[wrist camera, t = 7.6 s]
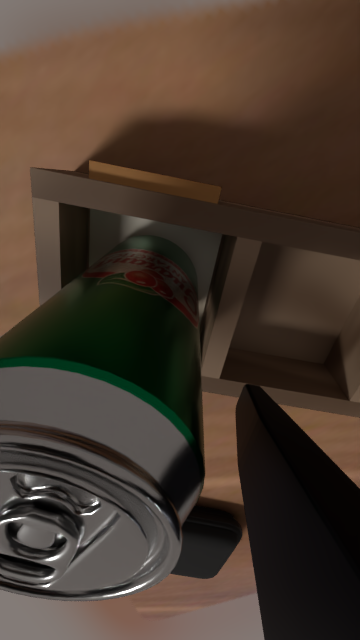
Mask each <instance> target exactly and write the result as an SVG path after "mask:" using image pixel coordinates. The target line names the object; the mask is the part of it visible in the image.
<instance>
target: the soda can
mask: <svg viewBox="0 0 360 640" xmlns="http://www.w3.org/2000/svg"><path fill="white" fill-rule="evenodd" d="M204 477H205V457H204V431H203V405H202V379H201V353H200V327H199V301H198V280H197V274H196V270H195V267H194V265H193V263H192V261H191V260H190V258H189V256H188V255H187V254H186V253H185V252H184V251H183V250H182V249H181V248H180V247H179V246H178V245H176V244H175V243H173V242H171V241H170V240H167V239H165V238H162V237H158V236H154V235H140V236H135V237H131V238H128V239H126V240H124V241H122V242H121V243H120V244H118V245H117V246H115V247H114V248H113V249H112V250H110V251H109V252H108V253H107V254H105V255H104V256H103V257H102V258H100V259H99V260H98V261H96V262H95V263H94V264H93V265H91V266H90V267H89V268H88V269H86V270H85V271H84V272H83V273H81V274H80V275H79V276H77V277H76V278H75V279H74V280H72V281H71V282H70V283H69V284H67V285H66V286H65V287H64V288H62V289H61V290H60V291H58V292H57V293H56V294H55V295H53V296H52V297H51V298H50V299H48V300H47V301H46V302H45V303H43V304H42V305H41V306H39V307H38V308H37V309H36V310H34V311H33V312H32V313H31V314H29V315H28V316H27V317H26V318H24V319H23V320H22V321H21V322H19V323H18V324H17V325H15V326H14V327H13V328H12V329H10V330H9V331H8V332H7V333H5V334H4V335H3V336H2V337H0V589H1V590H4V591H8V592H11V593H16V594H21V595H25V596H30V597H36V598H43V599H50V600H62V601H97V600H106V599H113V598H119V597H123V596H128V595H132V594H135V593H138V592H141V591H143V590H146V589H148V588H150V587H152V586H154V585H156V584H158V583H159V582H161V581H162V580H163V579H164V578H166V577H167V576H168V575H169V574H170V573H171V571H172V570H173V569H174V567H175V566H176V564H177V561H178V559H179V556H180V553H181V549H182V540H183V534H182V528H181V527H182V525H183V523H184V522H185V520H186V518H187V517H188V515H189V514H190V512H191V511H192V509H193V507H194V506H195V504H196V503H197V501H198V499H199V497H200V494H201V492H202V489H203V485H204Z"/></svg>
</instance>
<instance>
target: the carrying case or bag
mask: <svg viewBox="0 0 360 640" xmlns="http://www.w3.org/2000/svg"><path fill="white" fill-rule="evenodd" d="M181 528H182V534H183V540H182V549H181V553H180V556H179V559H178V561H177V564H176V566H175V567H174V569H173V570H172V571H171V573H170V574H175V575H182V576H188V577H194V578H202V579H208V578H212V577H214V576H215V575H217V573H218V572H219V571H220V569H221V568H222V566H223V565H224V564H225V562H226V561H227V559H228V558H229V556H230V555H231V554H232V552H233V551H234V549H235V548H236V546H237V544H238V543H239V542H240V540H241V538H242V528H241V526H240V524H239V523H238V522H237V521H236V520H235V519H234V517H233V516H232V515H231V514H229V513H227V512H224V511H220V510H215V509H210V508H205V507H200V506H194V507H193V509H192V511H191V512H190V514H189V515H188V517H187V518H186V520H185V522H184V523H183V525H182V527H181Z"/></svg>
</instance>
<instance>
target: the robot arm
mask: <svg viewBox="0 0 360 640" xmlns="http://www.w3.org/2000/svg"><path fill="white" fill-rule="evenodd" d="M236 434H237V457H238V469H239V476H240V483H241V489H242V496H243V502H244V509H245V515H246V522H247V528H248V535H249V541H250V548H251V554H252V561H253V567H254V574H255V580H256V587H257V593H258V600H259V606H260V613H261V619H262V626H263V632H264V639H265V640H360V489H359V488H358V487H357V485H356V484H355V483H354V482H353V481H352V480H351V479H350V478H349V477H348V476H347V475H346V474H345V473H344V472H343V471H342V470H341V469H340V468H339V467H338V466H337V465H336V464H335V463H334V462H333V461H332V460H331V459H330V458H329V457H328V456H327V455H326V454H325V453H324V452H323V450H322V449H321V448H320V447H319V446H318V445H317V444H316V443H315V442H314V441H313V440H312V439H311V438H310V437H309V436H308V435H307V434H306V433H305V432H304V431H303V430H302V429H301V428H300V427H299V426H298V425H297V424H296V423H295V422H294V421H293V420H292V419H291V418H290V417H289V416H288V414H287V413H286V412H285V411H284V410H283V409H282V408H281V407H280V406H279V405H278V404H277V403H276V402H275V401H274V400H273V399H272V398H271V397H270V396H269V395H268V394H267V393H266V392H265V391H264V390H263V389H262V388H261V387H260V386H258V385H252V384H245V385H244V387H243V389H242V391H241V394H240V397H239V400H238V402H237V405H236Z"/></svg>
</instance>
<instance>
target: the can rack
mask: <svg viewBox="0 0 360 640" xmlns="http://www.w3.org/2000/svg"><path fill="white" fill-rule="evenodd" d="M30 175H31V189H32V203H33V217H34V231H35V245H36V260H37V274H38V288H39V302H40V306H41V305H42V304H43V303H45V302H46V301H47V300H48V299H50V298H51V297H52V296H53V295H55V294H56V293H57V292H58V291H60V290H61V289H62V288H64V287H65V286H66V285H67V284H69V283H70V282H71V281H72V280H74V279H75V278H76V277H77V276H79V275H80V274H81V273H83V272H84V271H85V270H86V269H88V268H89V267H90V266H91V265H93V264H94V263H95V262H96V261H98V260H99V259H100V258H102V257H103V256H104V255H105V254H107V253H108V252H109V251H110V250H112V249H113V248H114V247H115V246H117V245H118V244H120V243H121V242H122V241H124V240H126V239H128V238H131V237H135V236H140V235H154V236H158V237H162V238H165V239H167V240H170V241H171V242H173V243H175V244H176V245H178V246H179V247H180V248H181V249H182V250H183V251H184V252H185V253H186V254H187V255H188V256H189V258H190V260H191V261H192V263H193V265H194V267H195V270H196V274H197V280H198V301H199V327H200V353H201V379H202V391H203V392H209V393H215V394H221V395H227V396H233V397H240V394H241V391H242V389H243V387H244V385H245V384H252V385H258V386H260V387H261V388H262V389H263V390H264V391H265V392H266V393H267V394H268V395H269V396H270V397H271V398H272V399H273V400H274V401H275V402H276V403H277V404H281V405H287V406H293V407H299V408H305V409H311V410H317V411H323V412H329V413H335V414H341V415H347V416H353V417H359V418H360V228H357V227H352V226H347V225H342V224H337V223H332V222H327V221H322V220H317V219H312V218H307V217H302V216H297V215H292V214H287V213H282V212H277V211H271V210H266V209H261V208H256V207H251V206H246V205H241V204H236V203H231V202H226V201H221V200H219V197H220V192H221V188H222V187H220V186H215V185H210V184H205V183H200V182H195V181H190V180H185V179H180V178H175V177H170V176H165V175H160V174H155V173H150V172H145V171H140V170H135V169H130V168H125V167H120V166H115V165H110V164H105V163H100V162H96V161H91V160H89V174H85V173H80V172H75V171H66V170H55V169H44V168H32V167H30Z"/></svg>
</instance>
